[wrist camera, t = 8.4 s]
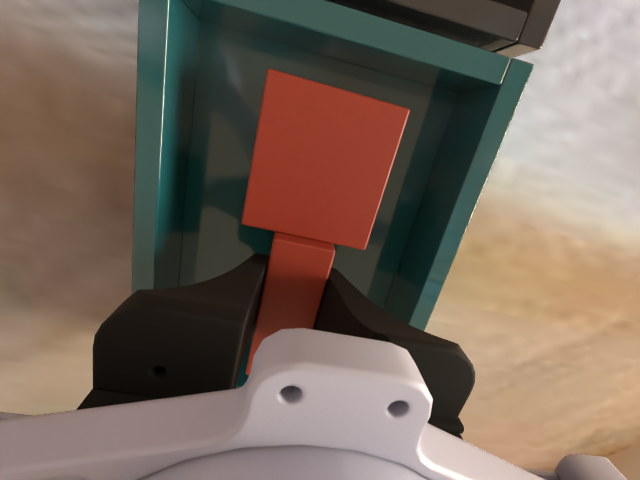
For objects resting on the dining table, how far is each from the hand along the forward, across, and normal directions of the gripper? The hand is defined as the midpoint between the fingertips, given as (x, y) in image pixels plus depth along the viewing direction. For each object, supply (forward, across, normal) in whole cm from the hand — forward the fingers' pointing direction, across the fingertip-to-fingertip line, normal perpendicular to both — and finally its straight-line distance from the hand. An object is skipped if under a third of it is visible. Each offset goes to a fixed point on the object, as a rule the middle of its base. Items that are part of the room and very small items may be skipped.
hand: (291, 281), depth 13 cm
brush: (+1, 0, -2) cm, 2 cm away
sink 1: (+2, 0, -2) cm, 3 cm away
